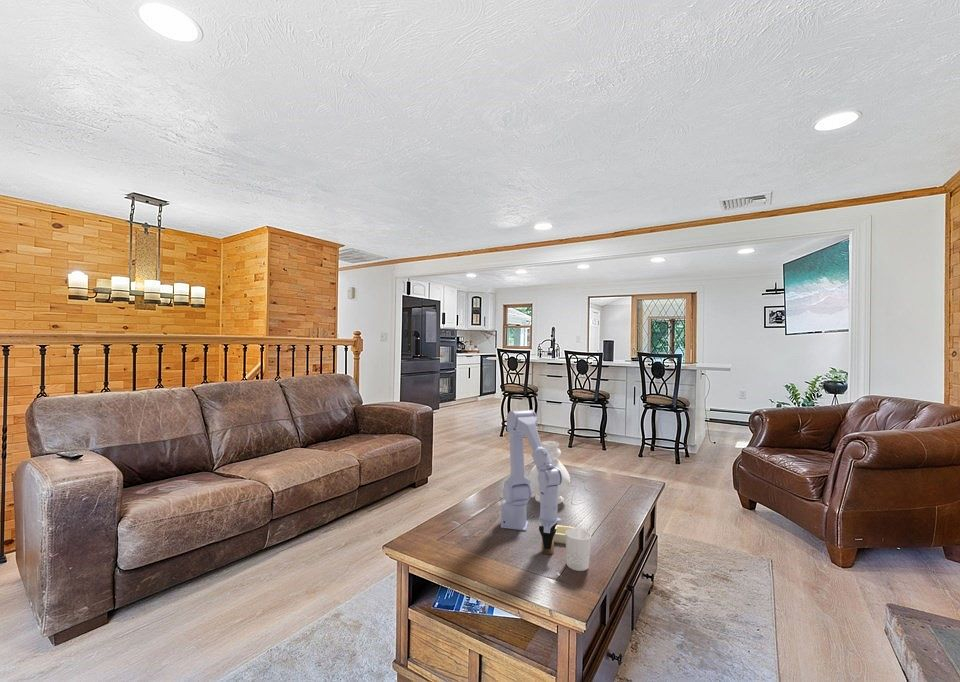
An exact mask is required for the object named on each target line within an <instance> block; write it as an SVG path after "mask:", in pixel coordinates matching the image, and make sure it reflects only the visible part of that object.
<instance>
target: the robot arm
mask: <svg viewBox="0 0 960 682" xmlns="http://www.w3.org/2000/svg"><path fill="white" fill-rule="evenodd" d="M537 424H538V417H537V413H536V412H535V410H533V409H528V410H526V409H525V410H510V411H509V412H508V414H507V415H506V431H507V432H508V433H509V454H510V455H509V457H510V458H509V460H510V461H509V462H510V475H509V477H507V478H506V479H505V480H504V482H503V490H502V496H503V500H502V503H501V509H500V510H501V512H500V528H501V529H509V530H516V531H517V530H518V531H526V530H527V529H528V525H529V521H528V520H527V509H528V508H527V507H528V505H527V504H529V500H531V499H532V495H533V491H532V485H531V483H530V480H529V478H528V477H526V476H525V461H524V460H525V459H524V458H525V456H524V454H525V453H524V435H525V437H526V439H527V441H528V444H529V445H530V447H531V449H532V453H531V457H532V461H533V462H534V466H535V465H536V468H537V470H538V476H537V478H538V483H539V490H540V491H541V498H540V502H539V503H540V504H539V505H540V506H539V507H540V508H539V518H538V520H539V521H540V523H541V525H538V526H539V527H538V531H539V533H540V535H541V540H542V539H543V545H544V549H551V546H552V540H553V537H554V535H555V533H556V530H557V529H555V527H556V525H558V523H561V521H562V519H561V518H560V517H558V510H559V509H558V507H559V504H558V485H560V484H561V482H562V475H561V472H560V470H559V469H558V468H557V467H556V465H553V462H552V460H551V458H550V455H549V453H548V451H547V449H545V448H543V445H542V441H541V438H540V435H539V431H538V429H537V426H538V425H537Z"/></svg>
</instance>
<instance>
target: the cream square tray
mask: <svg viewBox="0 0 960 682" xmlns="http://www.w3.org/2000/svg"><path fill="white" fill-rule="evenodd" d="M573 528H576V527H575V526H570V525H569V526H567V525H560V524H557V525H556V527H555V529H557V530H556V533H555V535H554V543H557V544H565V545H566V531H567V530H568V529H573Z"/></svg>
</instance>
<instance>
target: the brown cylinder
mask: <svg viewBox="0 0 960 682" xmlns="http://www.w3.org/2000/svg"><path fill="white" fill-rule="evenodd" d="M541 552H542V553H543V554H544V555H545V554H546V555H552V554H554V553H555V542H554V537H553V540H552V546H551V549H544V545H543V539H542V538H541Z"/></svg>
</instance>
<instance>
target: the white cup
mask: <svg viewBox="0 0 960 682" xmlns="http://www.w3.org/2000/svg"><path fill="white" fill-rule="evenodd" d="M591 547H592V534H591V532H589V531H587V530H585V529H583V528H582V529H581V528H577V527H575V528H573V529H568V530H567V531H566V544H565V554H566V555H565V556H566V566H567V567H568V568H569V569H570V570H572V571H577V572H584V571H587V570H588V569H589V568H590V567H589V566H590V559H591V558H590V557H591Z"/></svg>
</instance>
